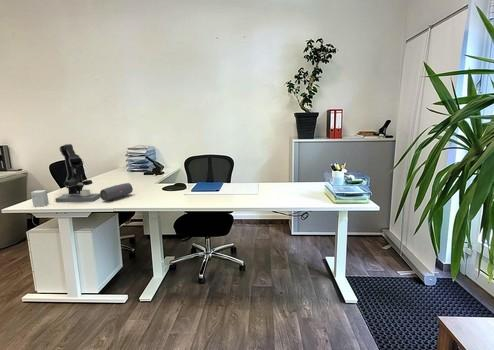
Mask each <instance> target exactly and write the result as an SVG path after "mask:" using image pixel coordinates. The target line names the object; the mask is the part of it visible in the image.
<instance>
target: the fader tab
mask: <svg viewBox="0 0 494 350" xmlns="http://www.w3.org/2000/svg"><path fill="white" fill-rule="evenodd" d="M80 194H81V196H88V195H90V194H91V191H90V189H82V190H81V191H80Z"/></svg>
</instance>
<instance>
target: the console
mask: <svg viewBox="0 0 494 350" xmlns="http://www.w3.org/2000/svg"><path fill="white" fill-rule="evenodd" d="M98 199H100V192H99V193H90V195H88V196H81V194H69V193H66V194H65V193H64V194H62V195H60V196H57V197H55V198H54V200H55V203H91V202H92V203H93V202H95V201H97V200H98Z"/></svg>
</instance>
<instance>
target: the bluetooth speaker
mask: <svg viewBox="0 0 494 350" xmlns="http://www.w3.org/2000/svg"><path fill="white" fill-rule="evenodd" d="M133 190H134V189H133V186H132V184H131V183H129V182H126V183H121V184H115V185H112V186H109V187H106V188H103V189H101V190H100V192H99V193H100V197H101V200H102V201H104V202H105V201H110V200H111V201H115V200H118V199H122V198H124V197H126V196H127V195H129V194H132V193H133Z"/></svg>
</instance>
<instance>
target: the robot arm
mask: <svg viewBox="0 0 494 350" xmlns="http://www.w3.org/2000/svg"><path fill="white" fill-rule="evenodd" d="M59 152H60V153H61V155H62V156H63V157H64V158H63V159H64V163H65V168H66V173H67V175H66V178H65V181H64V182H63V185H64V186H65V189H68V190H67V191H68V194H80V191H81V190H83V188H84V186H90V185H92V184H93V180H92V179H85V180H84V179H83V177H82V176H83V175H84V174H85V169H84V168H83V167H82V166H84V162H83V159H82V158H81V157H80V155H79V154H76V152H75V150H74V146H73V145H72V144H71V143H67V144H66V143H65V144H63V145H60V146H59Z"/></svg>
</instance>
